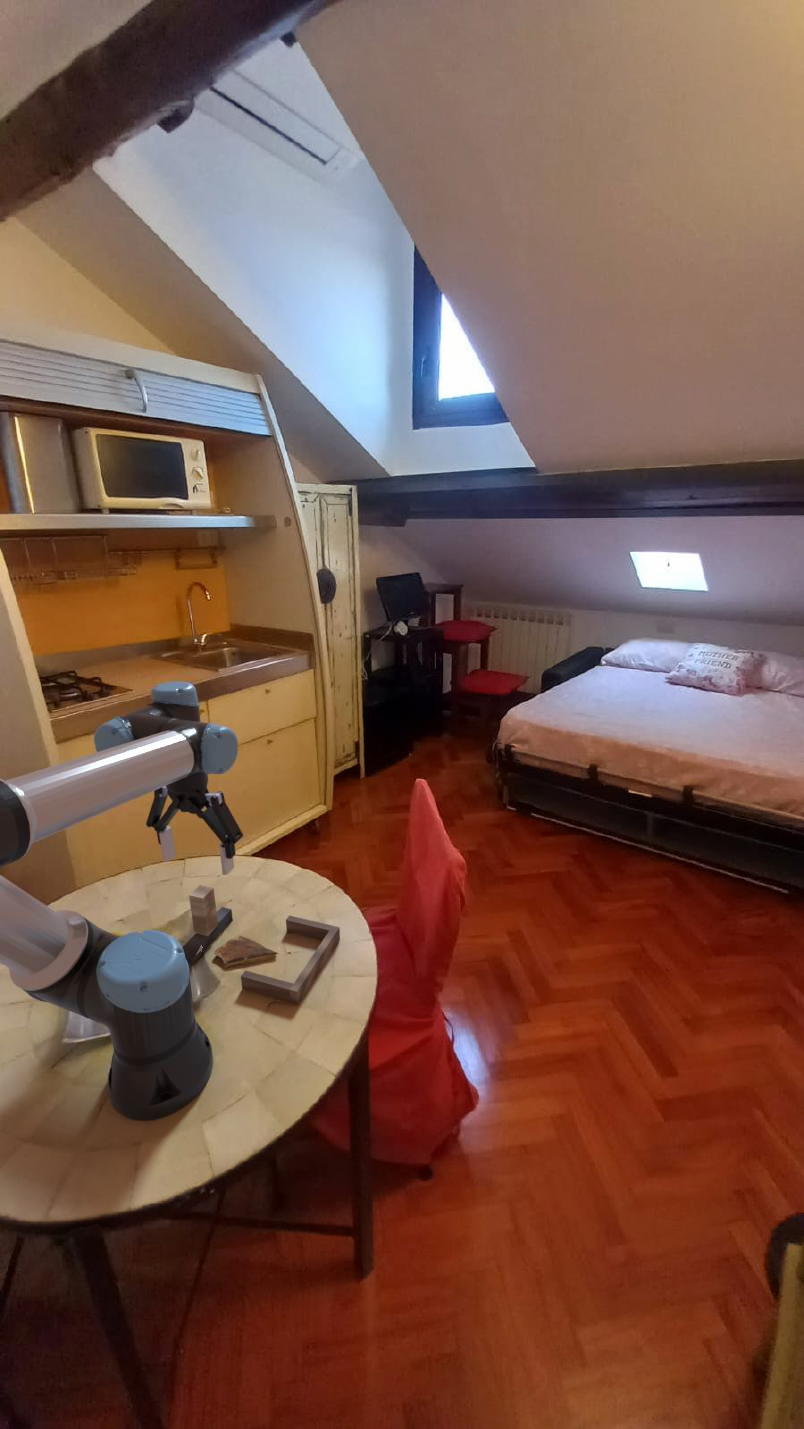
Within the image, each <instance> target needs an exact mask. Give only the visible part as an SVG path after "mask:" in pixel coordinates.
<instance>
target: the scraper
mask: <svg viewBox="0 0 804 1429" xmlns="http://www.w3.org/2000/svg"><path fill="white" fill-rule="evenodd" d="M188 898H189V905H190V911H191V912H190V913H191V919H192V925H193V926H192V927H193V932H194V935H193V936H192V937H191V938H190V939H188V941H187V942H186V943H185V944H184V945H183V946H182V948H183V950H184V954H185V958H186V960H187V962H188V965H189V966H192V965H193V964H194V963H195V962H196V961H197V960H198V959H199V958H200V957H201V955H203V953H204V952H205V951H206V950H208V948H209V947H210V946H211V945H212V944H213V942H214V941H215V940H217V938H218V937H219V936H220V935H221V934H222V933H223V932H224V931H225V930H226V929H227V928H228V926H229V925H230V924H232V922H233V921H234V919H233V913H232V911H233V909H232V908H228V907H223V906H221V907H220V908H219V909H218V910H217V905H216V896H215V889H214V887H211V886H207V885H202V884H200V885H198V886H197V887H196V888H195V889H194V890H193V891H191V893H189V895H188ZM201 945H202V947H203V948H202V952H201V951H200V952H199V953H198V954H197V952H198V950H199V948H200V946H201ZM196 954H197V955H196Z"/></svg>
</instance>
